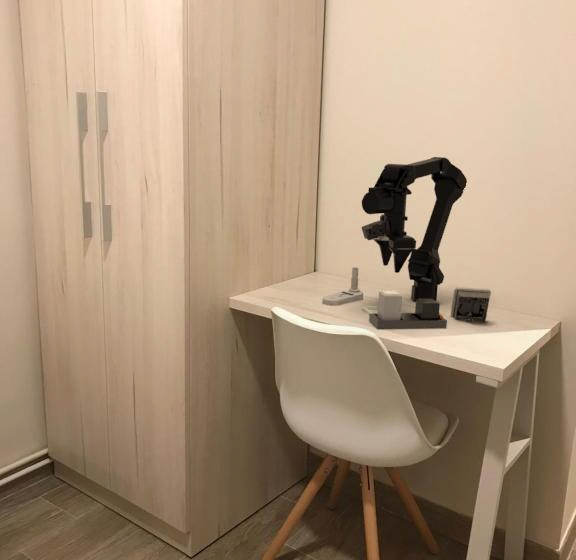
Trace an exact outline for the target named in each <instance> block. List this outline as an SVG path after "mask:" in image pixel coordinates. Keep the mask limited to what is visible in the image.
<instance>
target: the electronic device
mask: <svg viewBox="0 0 576 560" xmlns="http://www.w3.org/2000/svg"><path fill="white" fill-rule="evenodd" d="M350 281H351V283H350V288H348V289H347V290H343V291H340V292H336V293H332V294H328V295H324V296H323V297H322V305H325V306H329V307H330V306H332V307H335V306H336V307H337V306H342V305H346V304H350V303H356V302H359V301H362V300H364V292H363V291H362V290H360V289H359V286H358V285H359V267H356V266H355V267H352V268H351V278H350Z"/></svg>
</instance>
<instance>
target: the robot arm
mask: <svg viewBox="0 0 576 560" xmlns="http://www.w3.org/2000/svg"><path fill="white" fill-rule="evenodd" d="M427 176H431V177H430V179H431V180H432V181H433V182H434V187H433V188H434V190H433V191H434V194H435V198H436V199H435V202H434V205H433V209H432V212H431V214H430V217H429V221H428V224H427V227H426V230H425V233H424V235H423V239H422V242H421V245H420V246H419V247H418V248H416V247H417V240H416V239H415V238H414V237H412V236H410V235H407V233H408V232H407V231H405V224H406V221H408V220H409V219H408V218H409V217H408V216H407V215H406V211H407V210H406V208H407V196H409V195H412V190H410V189H409V188H408V187H409V186H411V185H412V184H414V183H415V181H416V180H417V179H420V178H423V177H427ZM466 183H468V179H467V177H466V176H465V174H464V173H463V171H462V170H461V169H460V168H458V167H457V165H456V166H455V165H454V164H452V162H451V161H450V160H449V158H446V157H441V156H439V157H438V156H433V157H430V158H428V159H424V160H423V159H422V160H420V161H419V160H418V161H416V162H412V163H407V164H403V163H402V164H401V163H386V164H385V165H384V167H383V169H382V171H381V172H380V174H379V177H378V179H377V180H376V182H375V184H374V186H373V187H368V192H365V194H364V196H363V197H362V200H361V207H362V210H363V211H364V212H365V213H366V214H368V215H377V214H381V215H380V217H379V220H377V221H373V222H370V223H368V224H366V225H363V226H361V230H362V234H363V237H364V239H365V240H368V241H374V242H375V243H376V244H377V245H378V247H379V250H380V255H381V259H382V264H383V266H384V267H385V266H388V265H389V263H390V261H391V260H390V259H391V257H392V255H393V267H394V273H395V274H399V273H400V271H401V270H402V268H403V267H404V265H405V262H406V261H407V259H408V258H409V259H408V261H407V262H408V263H407V270H408V276H409V277H408V278H409V280H410V281H413V285H411V291H410V292H411V293H410V294H411V295H410V299H411V300H413V301H414V302H415V303H416V299H433V300H435V301H437V298H438V290H439V289H438V288H439V287H438V286H439V285H441V284H443V282H444V280H445V275H444V273H443V272H442V270H441V268H440V265H441V258H440V254H439V248H440V245H441V242H442V240H443V236H444V233H445V231H446V227H447V225H448V220H449V218H450V215H451V212H452V211H451V210H452V208H453V206H454V204H455V203H456V202H457V201H458V200H460V198H462V196H463V194H464V191H465V189H466V187H467V185H466ZM464 188H465V189H464ZM463 190H464V191H463ZM409 256H410V257H409ZM437 302H438V303H439V304H440V302H439V301H437Z"/></svg>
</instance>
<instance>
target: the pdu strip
mask: <svg viewBox="0 0 576 560" xmlns="http://www.w3.org/2000/svg"><path fill="white" fill-rule="evenodd" d="M438 302H439V301H437V300H436V301H435V300H433V299H416V302H415V308H414V309H415V310H414V313H413V312H411V313H410V312H405V313H404V312H402V313H401V315H400V320H394V321H381V320H380V319H379V318H378V317H377V313H370V314H369V315H368V317H369V318H368V321H369V323H370V324H371V325H372V326H374V328H375V329H376V330H412V329H413V330H417V329H418V330H419V329H420V330H422V329H423V330H425V329H426V330H428V329H429V330H430V329H433V330H434V329H435V330H436V329H447V327H448V326H447V325H448V319H446V318H444V315H443V314H442V313H440V306H441V303H440V302H439V303H438Z"/></svg>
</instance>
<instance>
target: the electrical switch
mask: <svg viewBox="0 0 576 560" xmlns="http://www.w3.org/2000/svg"><path fill="white" fill-rule="evenodd" d="M491 295H492V292H491V289H489V288H481V287H465V286H464V287H463V286H462V287H461V286H460V287H459V286H456V287H455V288H454V289H453V297H452V304H451V309H450V317H453V318H454V320H455V321H456V320H457V319H462V320H463V321H464V322H466V323H474V324H477V323H478V324H485V323H486V319H487V316H488V314H487V313H488V309H489V304H490V303H489V302H490V297H491Z"/></svg>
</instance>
